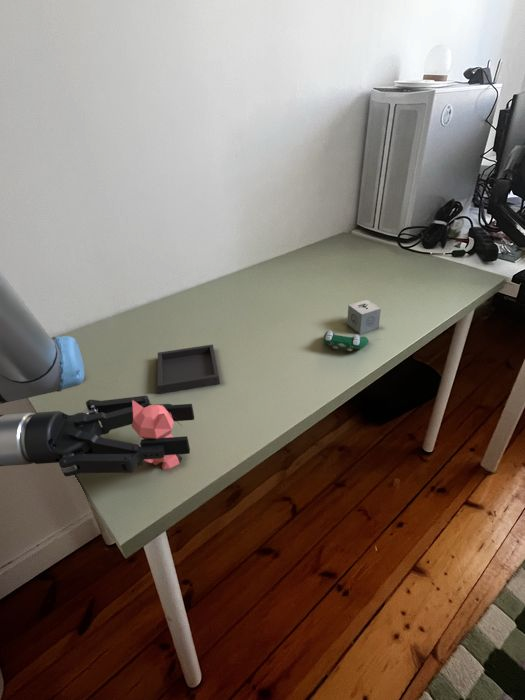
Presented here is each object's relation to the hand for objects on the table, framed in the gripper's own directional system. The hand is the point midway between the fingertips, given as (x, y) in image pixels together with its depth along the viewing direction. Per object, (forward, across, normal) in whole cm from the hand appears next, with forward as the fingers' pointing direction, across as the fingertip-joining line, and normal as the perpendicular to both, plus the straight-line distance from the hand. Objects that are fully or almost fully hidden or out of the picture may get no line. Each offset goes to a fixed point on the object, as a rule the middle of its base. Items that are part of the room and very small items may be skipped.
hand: (190, 427), depth 64 cm
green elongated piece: (+29, -28, -7) cm, 41 cm away
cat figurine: (-5, 0, -7) cm, 8 cm away
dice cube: (+35, -36, -7) cm, 51 cm away
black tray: (-4, -23, -7) cm, 25 cm away
